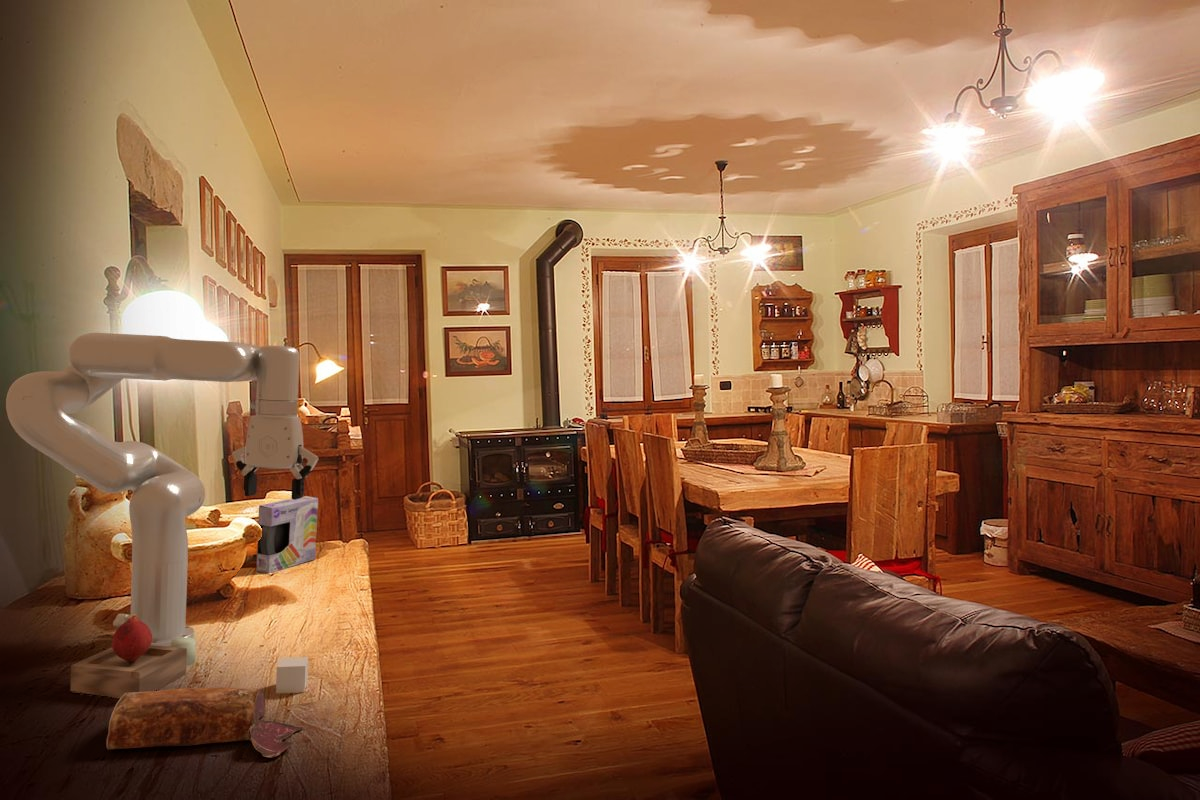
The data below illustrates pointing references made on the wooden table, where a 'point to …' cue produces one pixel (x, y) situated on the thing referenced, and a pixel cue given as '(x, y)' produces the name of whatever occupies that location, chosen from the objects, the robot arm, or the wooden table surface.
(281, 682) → the grey ceramic cube
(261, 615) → the wooden table surface
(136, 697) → the cured meat
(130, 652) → the red fruit
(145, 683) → the shallow wooden tray
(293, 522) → the cake pan box
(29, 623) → the wooden table surface
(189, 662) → the sage painted capsule
